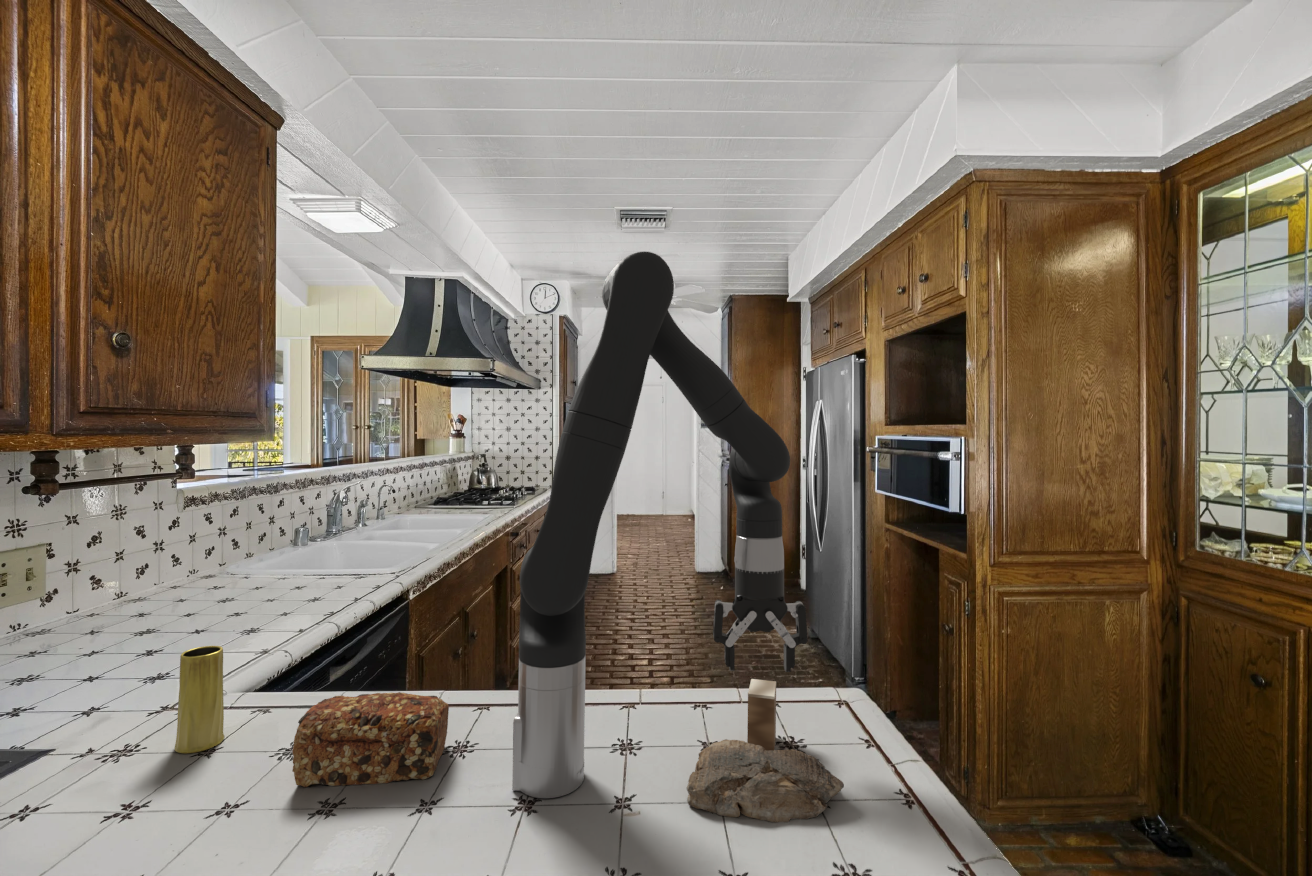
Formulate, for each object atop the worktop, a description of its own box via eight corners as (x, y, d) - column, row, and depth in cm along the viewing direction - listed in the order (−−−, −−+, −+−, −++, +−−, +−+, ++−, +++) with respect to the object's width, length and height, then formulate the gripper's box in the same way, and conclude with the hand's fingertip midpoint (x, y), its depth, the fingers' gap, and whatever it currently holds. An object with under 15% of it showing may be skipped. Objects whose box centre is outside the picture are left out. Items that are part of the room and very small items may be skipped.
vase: (175, 758, 86) (177, 661, 86) (173, 742, 91) (175, 650, 91) (226, 745, 90) (228, 652, 90) (222, 730, 95) (224, 641, 95)
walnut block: (747, 752, 90) (747, 693, 90) (750, 734, 96) (751, 678, 96) (773, 756, 89) (774, 696, 89) (775, 737, 95) (776, 681, 95)
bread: (288, 793, 78) (290, 718, 79) (322, 751, 89) (324, 685, 89) (434, 783, 81) (435, 710, 81) (450, 744, 92) (451, 680, 92)
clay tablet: (840, 777, 84) (702, 754, 89) (841, 743, 84) (703, 723, 89) (846, 844, 70) (683, 813, 75) (847, 804, 70) (684, 775, 75)
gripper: (714, 569, 87) (714, 678, 87) (811, 570, 87) (811, 680, 87) (712, 559, 95) (712, 659, 95) (800, 560, 94) (801, 661, 94)
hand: (759, 669), depth 91 cm, fingers open, 8 cm apart
